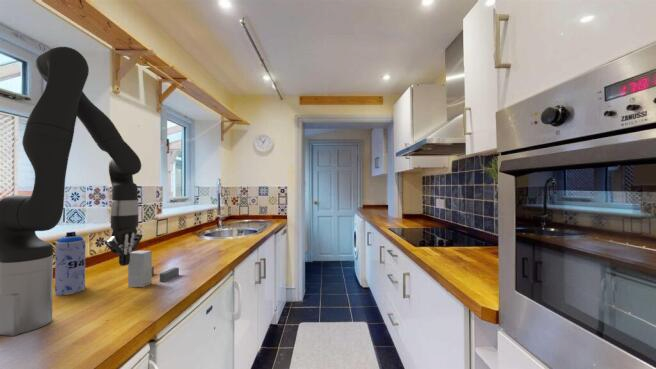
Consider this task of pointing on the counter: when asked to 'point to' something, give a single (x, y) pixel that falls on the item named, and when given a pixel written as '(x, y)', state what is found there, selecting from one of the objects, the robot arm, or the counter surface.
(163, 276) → the charcoal cradle
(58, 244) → the aerosol can
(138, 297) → the counter surface
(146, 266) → the skincare box
